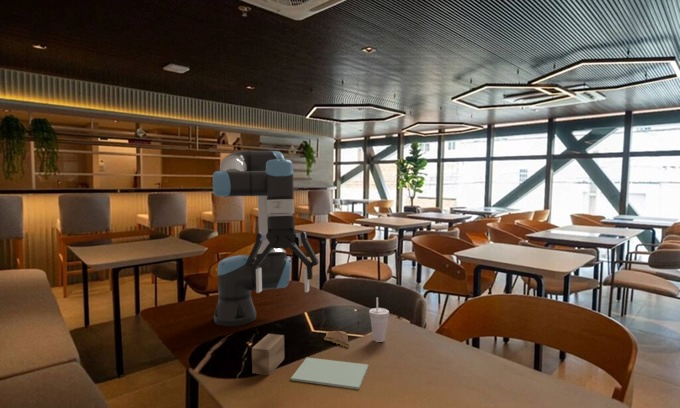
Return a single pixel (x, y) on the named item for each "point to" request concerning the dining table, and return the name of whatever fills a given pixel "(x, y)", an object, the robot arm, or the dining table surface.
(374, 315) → the smoothie
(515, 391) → the dining table surface
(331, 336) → the shard
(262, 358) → the beige block
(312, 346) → the dining table surface
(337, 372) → the felt mat
